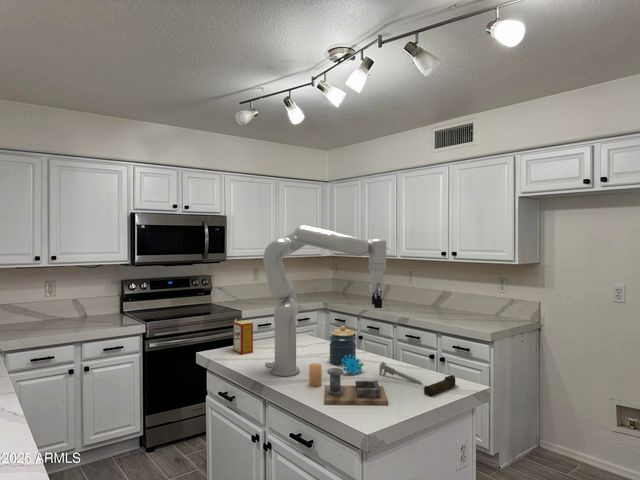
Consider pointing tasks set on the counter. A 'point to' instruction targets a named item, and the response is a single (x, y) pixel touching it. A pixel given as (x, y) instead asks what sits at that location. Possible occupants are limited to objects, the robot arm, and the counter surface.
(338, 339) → the canister
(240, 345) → the baking soda box
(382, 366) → the caliper
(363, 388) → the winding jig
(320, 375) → the tan oval solid
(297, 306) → the robot arm
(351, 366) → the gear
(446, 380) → the hand tool
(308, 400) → the counter surface
